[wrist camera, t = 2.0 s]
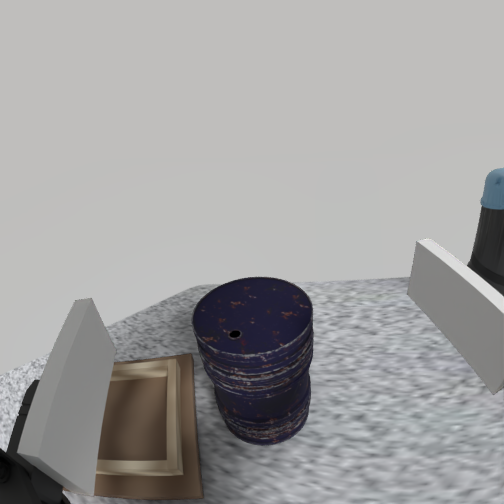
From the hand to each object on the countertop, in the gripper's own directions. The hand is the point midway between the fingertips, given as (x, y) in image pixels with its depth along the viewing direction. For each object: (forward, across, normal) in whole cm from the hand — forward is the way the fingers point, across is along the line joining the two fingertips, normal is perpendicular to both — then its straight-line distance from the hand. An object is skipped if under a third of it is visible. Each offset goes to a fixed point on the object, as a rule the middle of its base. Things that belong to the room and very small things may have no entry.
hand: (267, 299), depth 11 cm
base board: (+10, -17, -23) cm, 30 cm away
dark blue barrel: (+10, 0, -23) cm, 25 cm away
